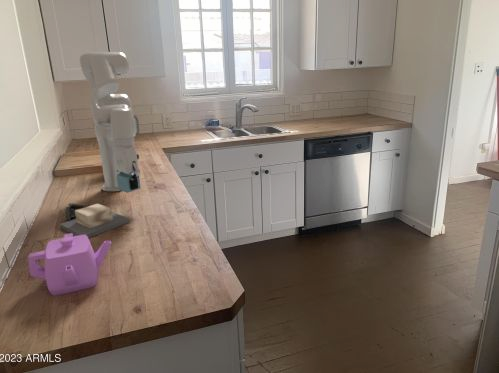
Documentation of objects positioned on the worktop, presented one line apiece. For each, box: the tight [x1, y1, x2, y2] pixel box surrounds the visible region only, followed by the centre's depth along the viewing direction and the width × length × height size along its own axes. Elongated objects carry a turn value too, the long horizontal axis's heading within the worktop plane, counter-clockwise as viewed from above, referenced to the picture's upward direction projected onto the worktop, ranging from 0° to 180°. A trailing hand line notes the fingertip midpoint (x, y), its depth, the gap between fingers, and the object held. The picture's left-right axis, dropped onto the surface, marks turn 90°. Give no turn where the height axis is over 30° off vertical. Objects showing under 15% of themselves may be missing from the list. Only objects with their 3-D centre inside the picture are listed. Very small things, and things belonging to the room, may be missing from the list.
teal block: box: [116, 171, 142, 194], centre depth 152 cm, size 6×6×6 cm
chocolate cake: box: [64, 202, 88, 221], centre depth 150 cm, size 10×7×12 cm
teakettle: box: [27, 232, 112, 297], centre depth 106 cm, size 17×17×12 cm
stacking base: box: [59, 203, 130, 239], centre depth 142 cm, size 18×16×6 cm
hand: (129, 186), depth 152 cm, fingers closed on teal block, 6 cm apart
